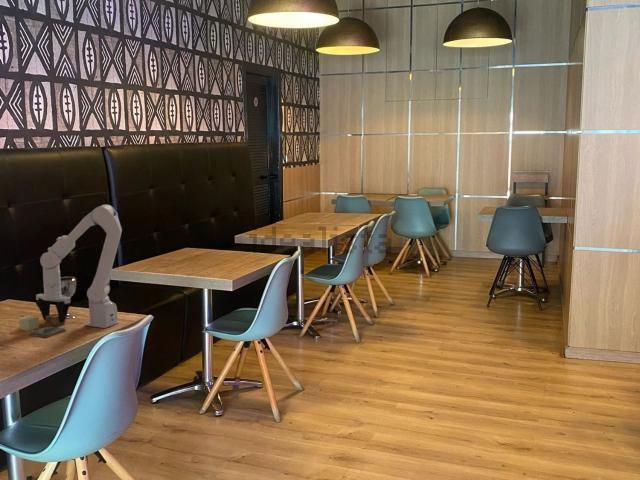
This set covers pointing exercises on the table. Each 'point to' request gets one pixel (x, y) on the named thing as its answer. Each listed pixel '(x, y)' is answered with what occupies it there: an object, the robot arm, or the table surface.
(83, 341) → the table surface
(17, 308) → the table surface
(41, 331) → the slate board
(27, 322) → the sage cube
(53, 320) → the walnut block
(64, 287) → the wine glass
